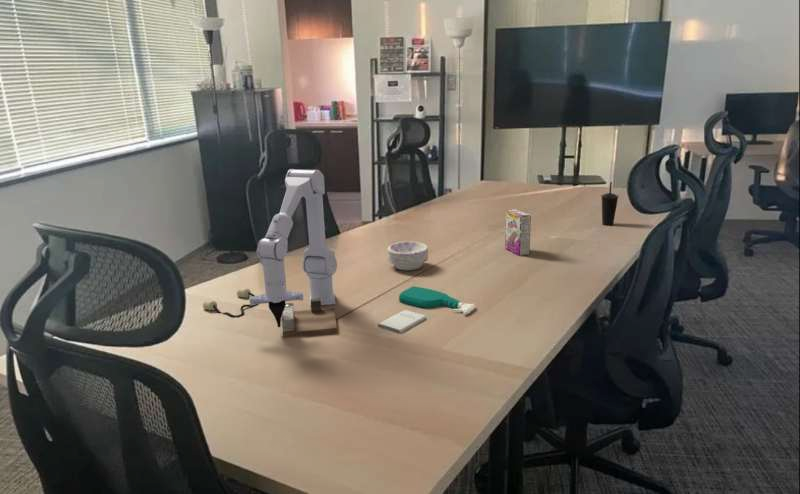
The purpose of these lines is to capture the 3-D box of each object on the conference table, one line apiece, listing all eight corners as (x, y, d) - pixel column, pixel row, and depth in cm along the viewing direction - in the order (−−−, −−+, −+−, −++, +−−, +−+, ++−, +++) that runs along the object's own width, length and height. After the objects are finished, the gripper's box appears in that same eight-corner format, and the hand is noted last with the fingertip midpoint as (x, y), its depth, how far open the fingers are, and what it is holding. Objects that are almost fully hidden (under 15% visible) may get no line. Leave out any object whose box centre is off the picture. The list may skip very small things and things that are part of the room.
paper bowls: (405, 276, 203) (405, 255, 201) (380, 266, 214) (379, 246, 212) (436, 266, 212) (436, 246, 210) (410, 258, 223) (410, 239, 221)
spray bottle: (414, 292, 188) (480, 308, 175) (395, 303, 179) (463, 320, 166) (414, 284, 187) (480, 299, 174) (395, 294, 179) (463, 311, 165)
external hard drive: (378, 328, 162) (404, 314, 172) (400, 335, 157) (426, 320, 167) (377, 323, 162) (404, 309, 171) (400, 330, 157) (426, 315, 166)
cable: (274, 303, 182) (273, 294, 181) (233, 321, 170) (232, 311, 169) (243, 294, 191) (242, 285, 190) (202, 310, 179) (200, 300, 178)
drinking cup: (618, 223, 265) (621, 181, 260) (614, 227, 259) (617, 184, 254) (601, 221, 269) (604, 180, 264) (597, 225, 263) (600, 183, 258)
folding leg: (284, 314, 168) (283, 303, 167) (294, 313, 168) (293, 302, 167) (282, 331, 156) (281, 320, 155) (293, 330, 157) (292, 319, 156)
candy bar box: (504, 249, 231) (505, 210, 227) (514, 247, 233) (515, 208, 228) (519, 256, 221) (520, 215, 217) (530, 254, 223) (531, 214, 218)
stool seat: (285, 316, 171) (283, 301, 169) (334, 312, 173) (333, 297, 171) (283, 337, 157) (281, 321, 155) (337, 332, 159) (335, 316, 157)
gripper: (247, 287, 150) (252, 334, 153) (302, 282, 152) (306, 328, 156) (248, 279, 156) (253, 324, 160) (301, 274, 159) (304, 318, 163)
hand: (279, 325), depth 159 cm, fingers closed
